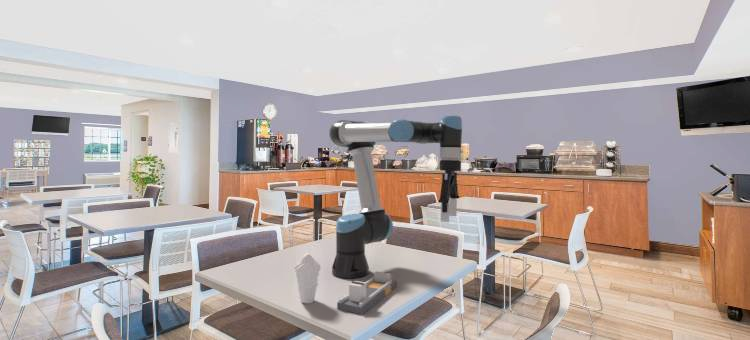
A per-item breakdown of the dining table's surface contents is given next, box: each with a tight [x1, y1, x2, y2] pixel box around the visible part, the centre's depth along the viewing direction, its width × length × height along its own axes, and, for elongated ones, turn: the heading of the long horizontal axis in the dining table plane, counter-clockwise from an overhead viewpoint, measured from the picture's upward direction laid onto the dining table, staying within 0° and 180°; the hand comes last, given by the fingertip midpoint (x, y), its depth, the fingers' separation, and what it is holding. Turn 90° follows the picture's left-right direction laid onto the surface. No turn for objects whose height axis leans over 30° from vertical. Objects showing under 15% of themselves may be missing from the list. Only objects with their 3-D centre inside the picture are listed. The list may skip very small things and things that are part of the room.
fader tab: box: [348, 280, 366, 302], centre depth 115 cm, size 4×4×5 cm
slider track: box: [336, 271, 398, 315], centre depth 123 cm, size 9×27×5 cm, turn 154°
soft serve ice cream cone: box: [294, 252, 321, 304], centre depth 118 cm, size 8×8×16 cm
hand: (448, 218), depth 130 cm, fingers open, 13 cm apart
